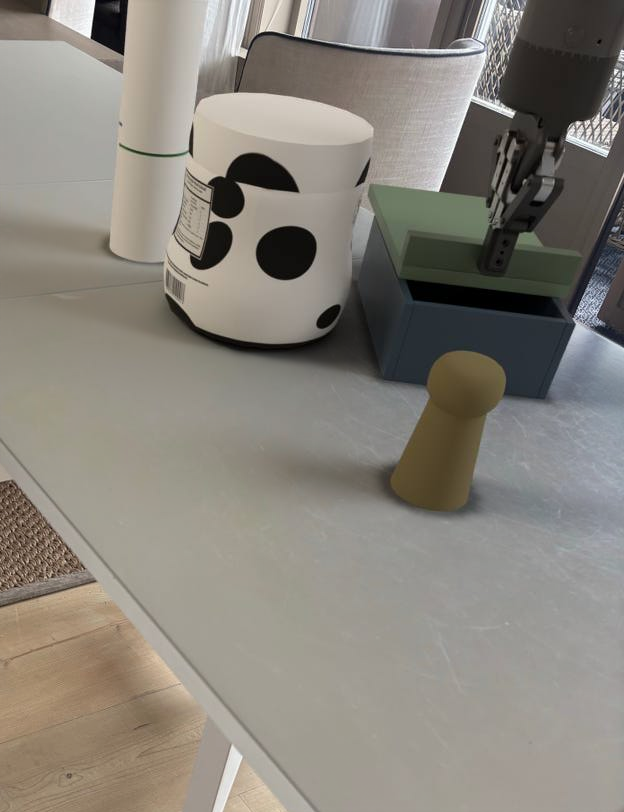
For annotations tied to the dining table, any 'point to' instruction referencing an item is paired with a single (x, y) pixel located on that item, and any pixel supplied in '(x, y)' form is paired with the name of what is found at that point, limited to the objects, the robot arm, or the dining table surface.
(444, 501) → the brown pawn
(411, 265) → the bin lid
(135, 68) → the cylindrical container
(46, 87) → the dining table surface
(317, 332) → the milk container
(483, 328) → the bin
